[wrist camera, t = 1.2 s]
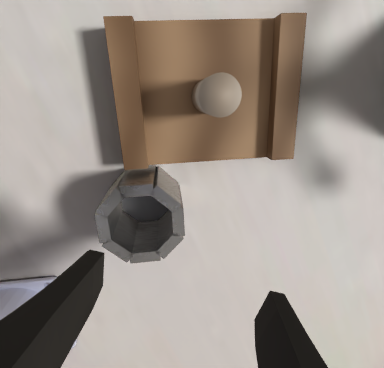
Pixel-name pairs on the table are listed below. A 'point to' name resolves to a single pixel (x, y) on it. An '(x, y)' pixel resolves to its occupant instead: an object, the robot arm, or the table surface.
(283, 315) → the robot arm
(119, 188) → the tube
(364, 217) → the table surface
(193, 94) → the shaft block
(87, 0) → the table surface
